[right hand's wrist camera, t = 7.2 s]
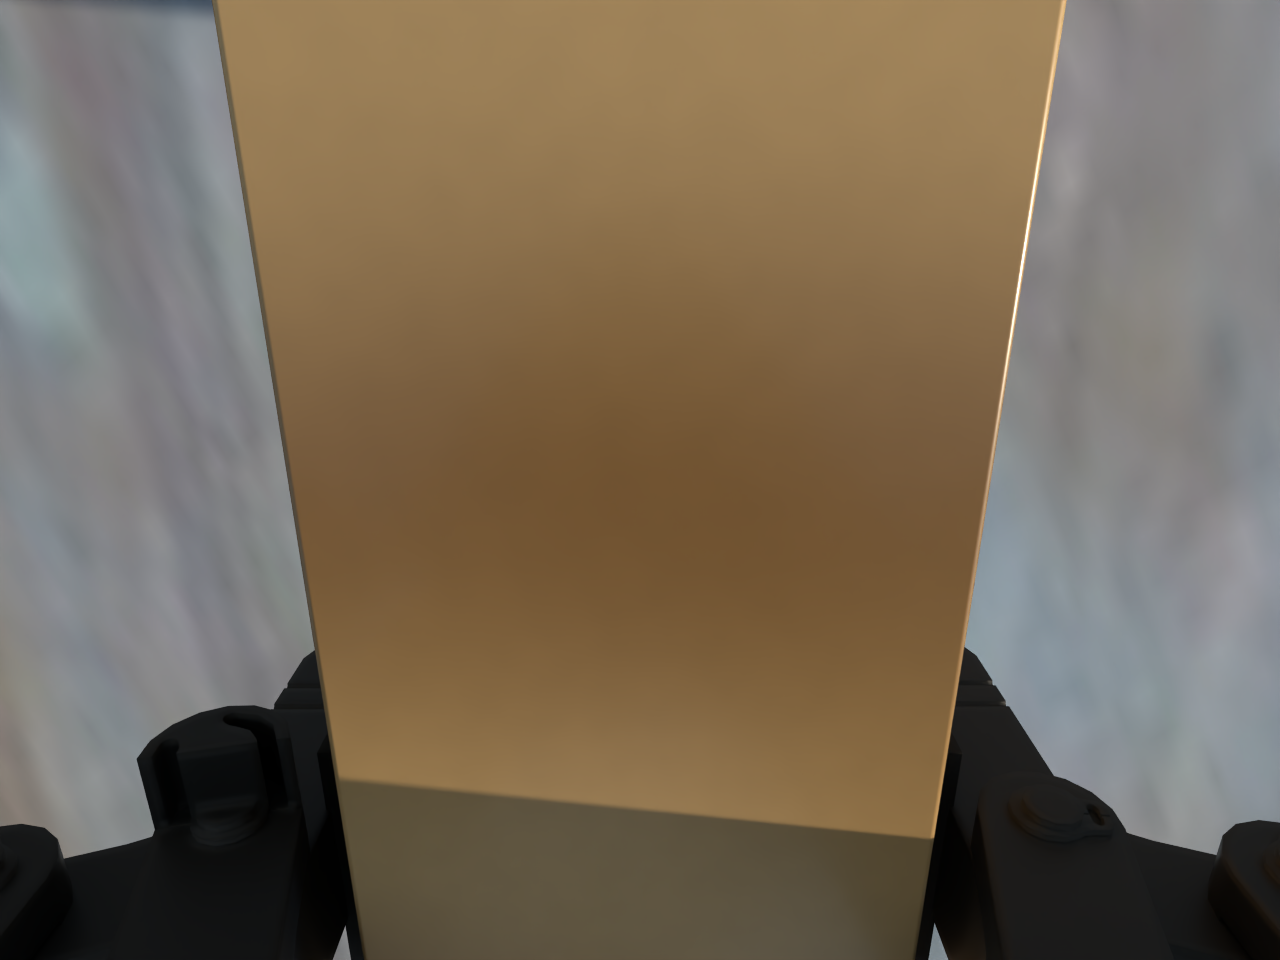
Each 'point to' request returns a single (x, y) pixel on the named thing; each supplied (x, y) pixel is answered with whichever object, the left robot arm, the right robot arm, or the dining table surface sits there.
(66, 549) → the dining table surface
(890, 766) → the bar
